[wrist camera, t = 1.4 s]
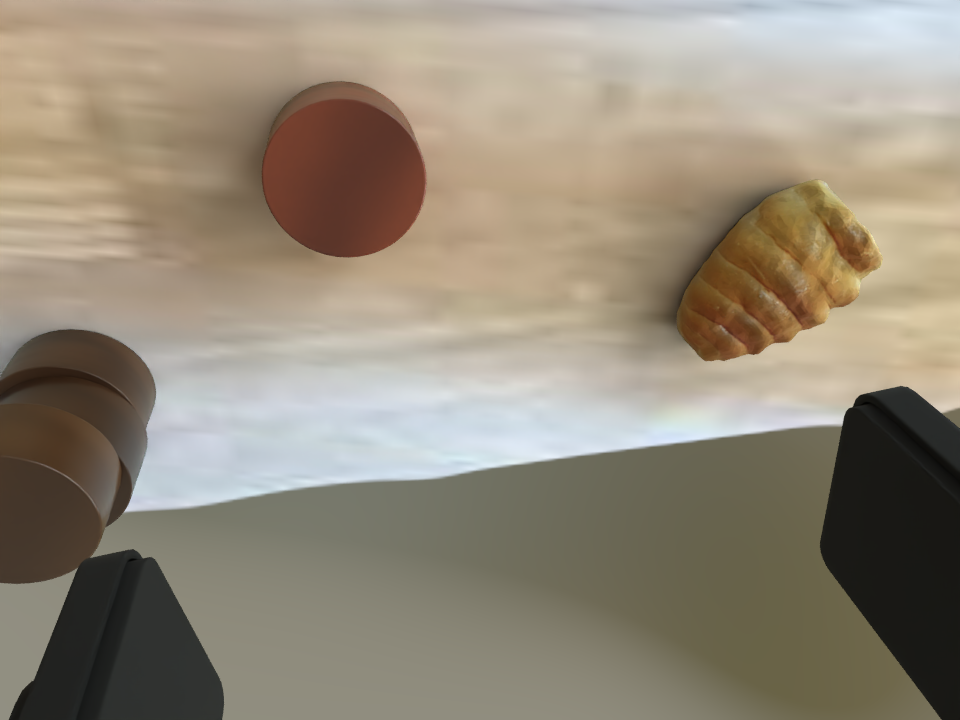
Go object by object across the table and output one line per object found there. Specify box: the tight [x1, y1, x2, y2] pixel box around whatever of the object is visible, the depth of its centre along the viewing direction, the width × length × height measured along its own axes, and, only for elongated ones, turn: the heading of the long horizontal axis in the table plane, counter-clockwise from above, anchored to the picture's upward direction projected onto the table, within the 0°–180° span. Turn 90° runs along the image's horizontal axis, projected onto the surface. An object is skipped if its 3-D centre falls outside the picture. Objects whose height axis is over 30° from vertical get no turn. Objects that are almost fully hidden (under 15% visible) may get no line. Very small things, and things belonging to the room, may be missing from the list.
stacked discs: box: [0, 330, 156, 584], centre depth 29 cm, size 7×7×9 cm
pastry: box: [677, 180, 883, 361], centre depth 34 cm, size 9×7×4 cm
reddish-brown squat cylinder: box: [262, 82, 426, 257], centre depth 28 cm, size 6×6×3 cm
